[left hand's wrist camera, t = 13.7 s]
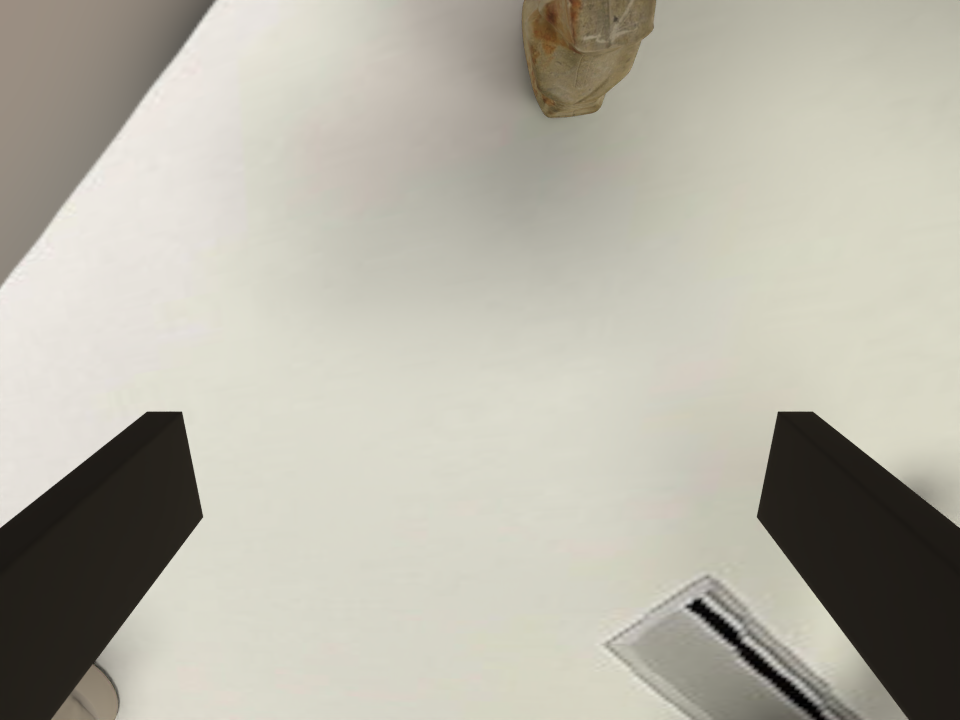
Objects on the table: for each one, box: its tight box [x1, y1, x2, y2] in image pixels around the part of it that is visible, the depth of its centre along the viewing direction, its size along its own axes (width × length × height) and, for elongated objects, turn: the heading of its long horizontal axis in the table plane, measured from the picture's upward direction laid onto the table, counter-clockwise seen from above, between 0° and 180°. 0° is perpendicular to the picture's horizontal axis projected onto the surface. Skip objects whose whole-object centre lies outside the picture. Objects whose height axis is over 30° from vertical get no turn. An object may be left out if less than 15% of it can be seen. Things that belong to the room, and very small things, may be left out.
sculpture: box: [522, 0, 656, 118], centre depth 29 cm, size 6×7×15 cm
